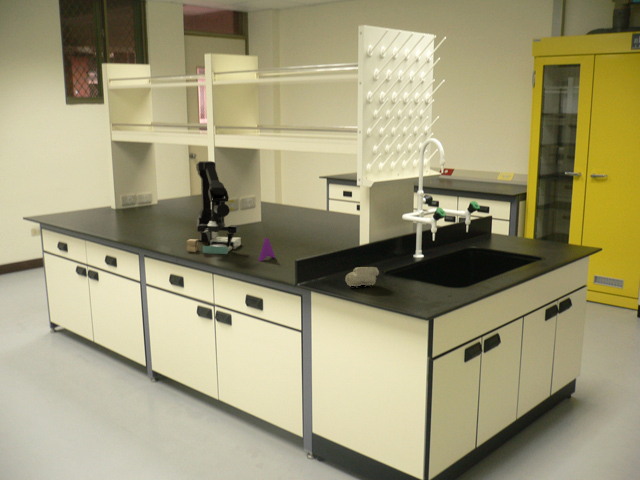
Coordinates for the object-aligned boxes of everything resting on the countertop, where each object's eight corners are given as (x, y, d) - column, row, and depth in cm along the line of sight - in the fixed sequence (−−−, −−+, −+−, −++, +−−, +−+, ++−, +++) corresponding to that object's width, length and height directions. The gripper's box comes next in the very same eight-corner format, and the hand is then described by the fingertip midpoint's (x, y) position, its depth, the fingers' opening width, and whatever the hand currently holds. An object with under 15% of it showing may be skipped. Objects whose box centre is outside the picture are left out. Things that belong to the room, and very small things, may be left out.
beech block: (190, 249, 283) (189, 239, 282) (198, 249, 282) (198, 239, 281) (187, 251, 279) (186, 240, 278) (195, 251, 278) (194, 241, 277)
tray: (210, 248, 286) (210, 241, 285) (233, 249, 284) (233, 242, 283) (202, 252, 276) (202, 246, 276) (227, 254, 274) (227, 247, 274)
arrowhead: (265, 268, 266) (276, 250, 270) (268, 269, 265) (279, 251, 269) (254, 256, 259) (265, 237, 263) (256, 256, 258) (268, 237, 262)
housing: (217, 243, 296) (216, 236, 295) (240, 244, 294) (240, 237, 293) (210, 248, 286) (210, 240, 286) (234, 249, 284) (234, 241, 284)
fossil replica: (340, 286, 225) (357, 294, 217) (340, 265, 222) (357, 273, 215) (365, 278, 232) (382, 286, 224) (365, 258, 229) (383, 265, 221)
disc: (209, 250, 278) (209, 247, 277) (214, 247, 284) (214, 244, 284) (223, 251, 277) (223, 247, 276) (227, 247, 283) (227, 244, 283)
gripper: (192, 215, 271) (193, 249, 274) (232, 217, 268) (232, 251, 271) (200, 211, 282) (201, 244, 285) (239, 213, 279) (240, 246, 282)
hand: (218, 246), depth 280 cm, fingers open, 9 cm apart
